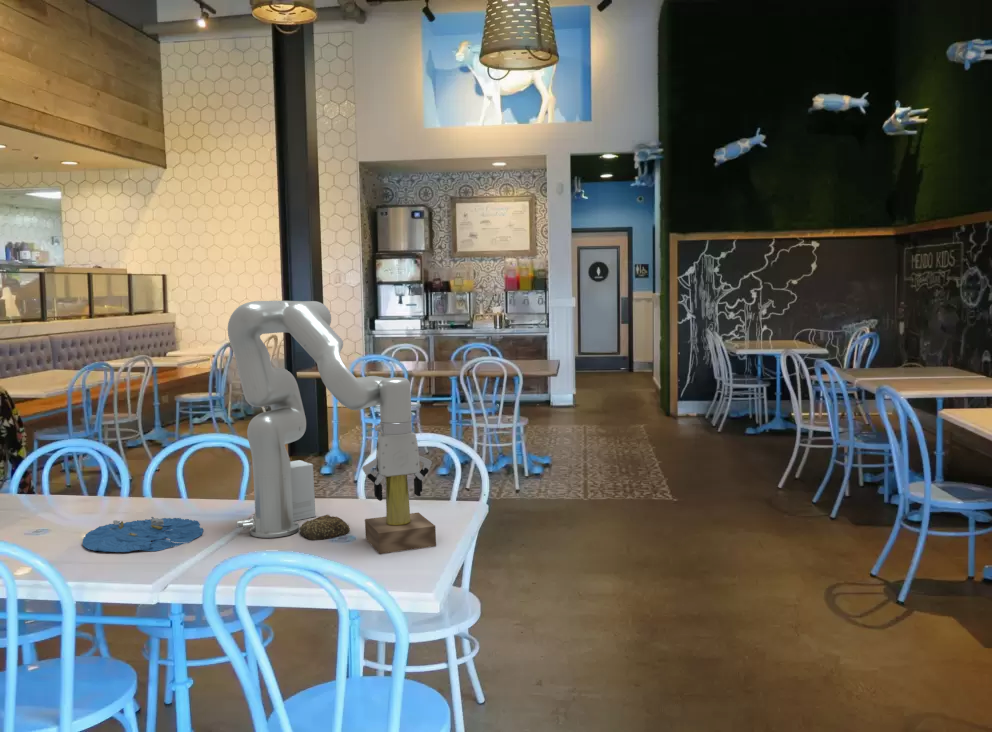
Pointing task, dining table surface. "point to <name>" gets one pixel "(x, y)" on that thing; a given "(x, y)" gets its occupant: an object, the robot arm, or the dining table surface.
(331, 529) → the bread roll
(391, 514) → the vase
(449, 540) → the dining table surface
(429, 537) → the block
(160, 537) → the decorative plate
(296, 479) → the supplement box
